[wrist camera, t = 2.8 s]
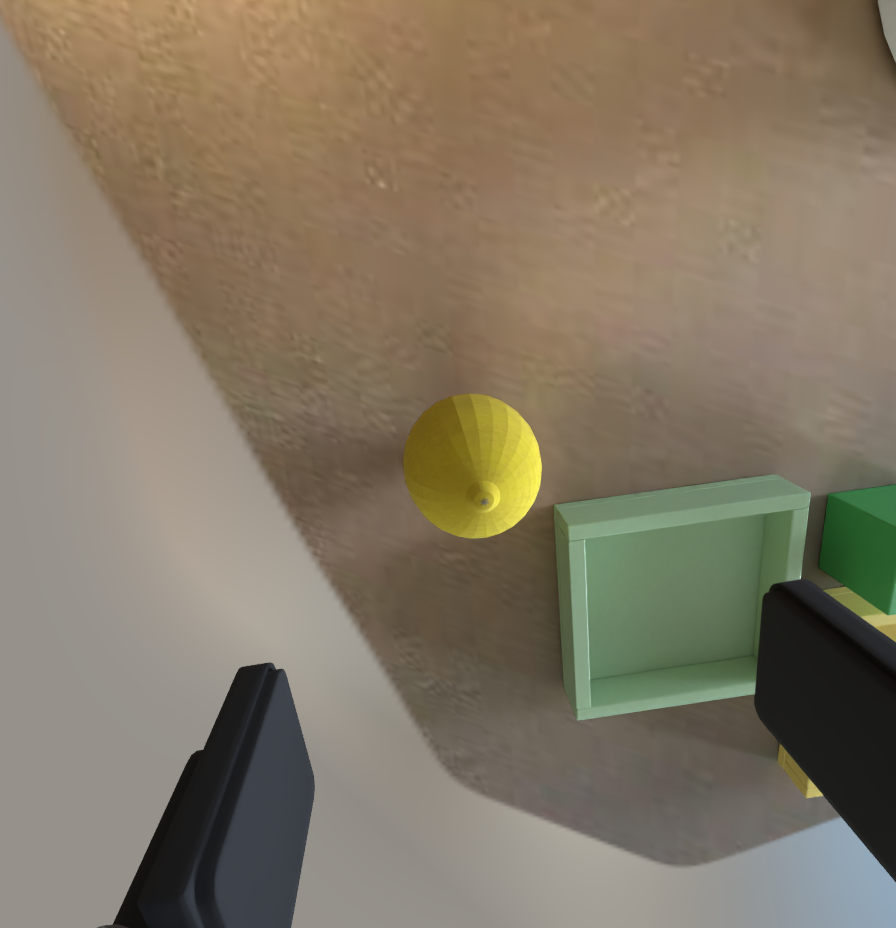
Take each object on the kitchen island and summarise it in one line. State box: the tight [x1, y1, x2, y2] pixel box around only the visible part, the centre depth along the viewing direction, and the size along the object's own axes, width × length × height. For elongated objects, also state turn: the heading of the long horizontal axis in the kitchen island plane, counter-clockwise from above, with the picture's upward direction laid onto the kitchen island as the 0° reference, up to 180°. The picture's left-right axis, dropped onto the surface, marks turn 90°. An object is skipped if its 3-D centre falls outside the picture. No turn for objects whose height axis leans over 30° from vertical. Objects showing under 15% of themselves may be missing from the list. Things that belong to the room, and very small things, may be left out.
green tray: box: [553, 474, 811, 720], centre depth 28 cm, size 12×12×3 cm
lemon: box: [403, 393, 542, 538], centre depth 21 cm, size 6×6×8 cm
